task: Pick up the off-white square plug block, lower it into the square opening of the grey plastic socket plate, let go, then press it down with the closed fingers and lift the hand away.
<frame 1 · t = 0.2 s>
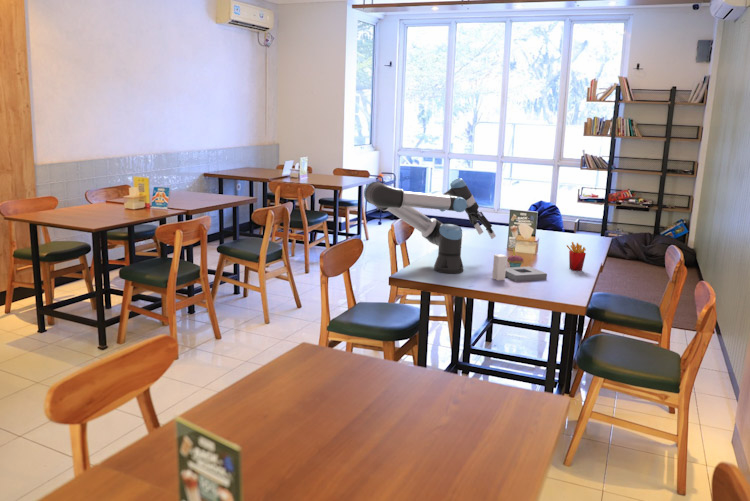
hand: (487, 235, 352), 15 cm above the table, tool tilted 35°, fingers open, 13 cm apart
french fries: (574, 270, 345), on the table
plug: (498, 279, 319), on the table
socket: (522, 276, 326), on the table
cupcake: (514, 268, 344), on the table
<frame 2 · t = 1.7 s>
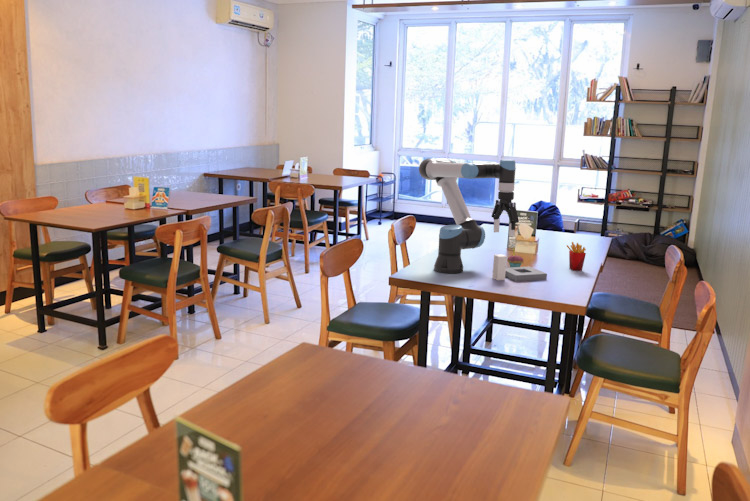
hand: (503, 234, 317), 22 cm above the table, tool pointing down, fingers open, 13 cm apart
nothing on the table moved.
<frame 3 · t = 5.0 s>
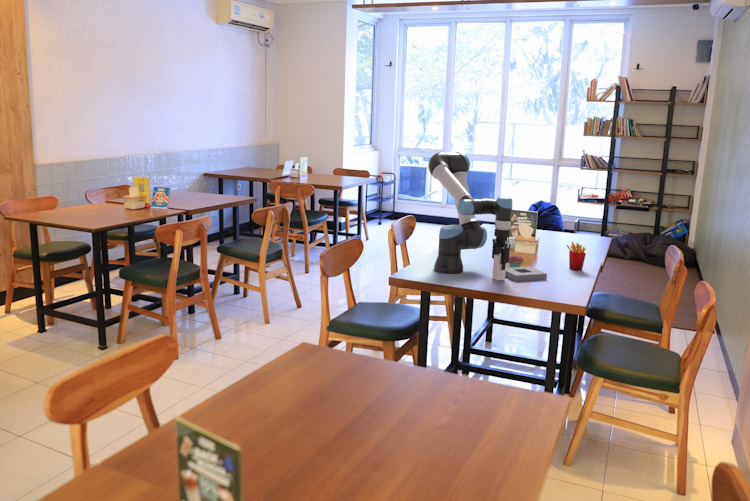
hand: (498, 274, 319), 2 cm above the table, tool pointing down, fingers closed on plug, 4 cm apart
plug: (498, 278, 319), on the table, touching gripper
everything else where it was.
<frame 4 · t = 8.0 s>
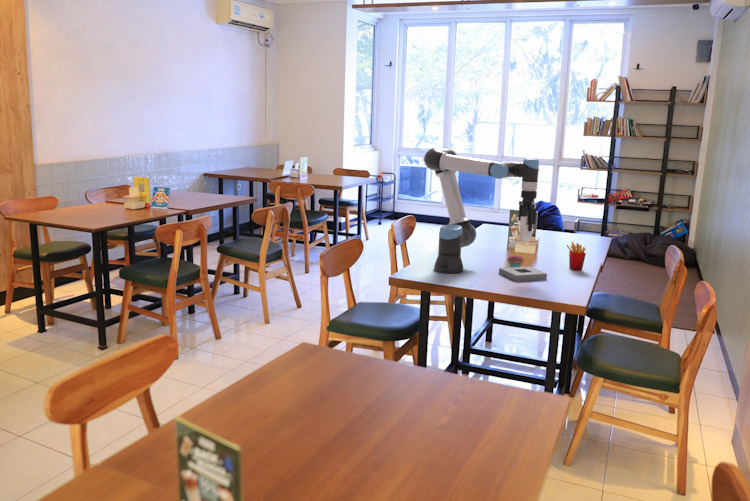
hand: (525, 236, 321), 21 cm above the table, tool pointing down, fingers closed on plug, 4 cm apart
plug: (525, 240, 322), point 19 cm above the table, touching gripper
everything else where it was.
when the fingers open (4 cm above the table, at t = 11.4 s): plug drops 2 cm, resting in socket.
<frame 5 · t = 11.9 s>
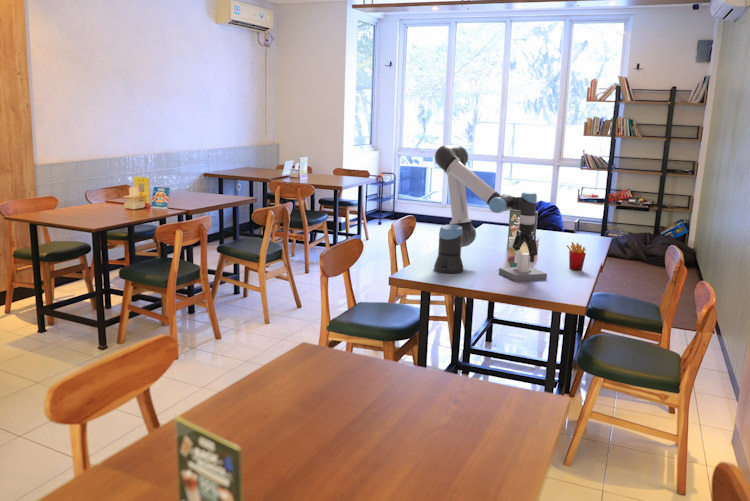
hand: (523, 265, 325), 6 cm above the table, tool pointing down, fingers open, 12 cm apart
plug: (522, 276, 326), resting in socket
everything else where it was.
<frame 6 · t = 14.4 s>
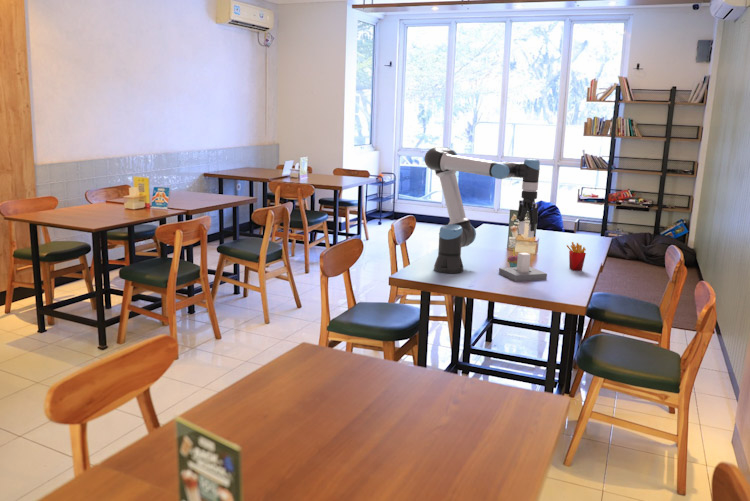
hand: (525, 235, 322), 21 cm above the table, tool pointing down, fingers open, 8 cm apart
nothing on the table moved.
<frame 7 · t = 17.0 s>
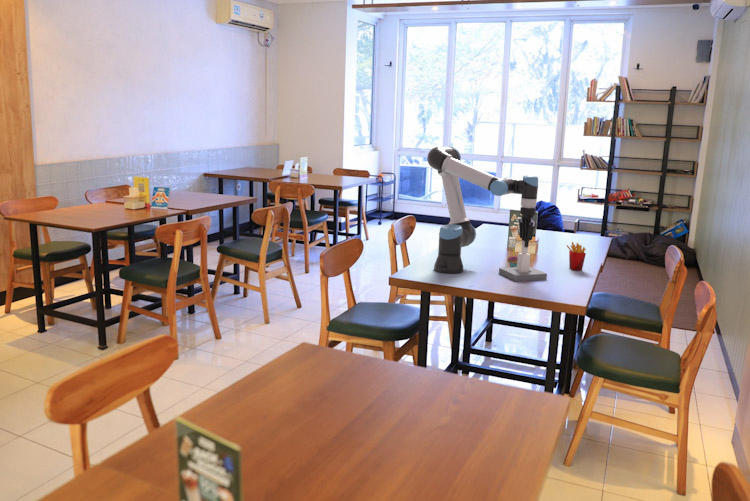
hand: (524, 253, 323), 12 cm above the table, tool pointing down, fingers closed
plug: (522, 276, 326), resting in socket, touching gripper
everything else where it was.
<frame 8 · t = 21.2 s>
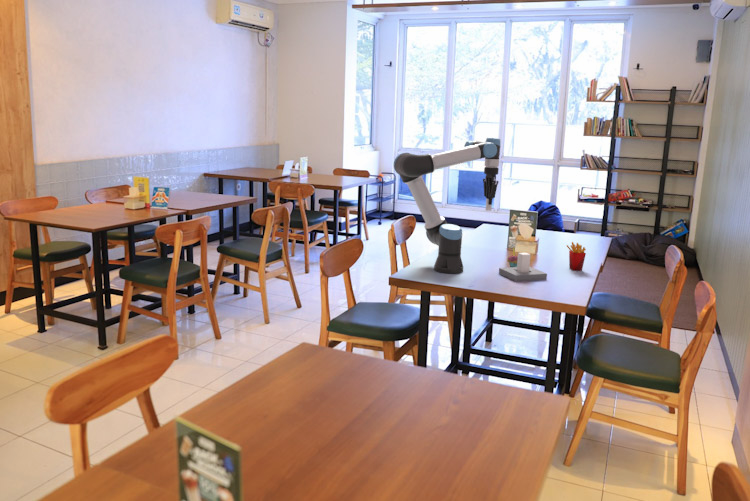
hand: (488, 210, 348), 29 cm above the table, tool pointing down, fingers closed
plug: (522, 276, 326), resting in socket
everything else where it was.
at the end: plug 0.0 cm off-centre on the socket, point 0.0 cm above the socket's base; plug tilted 0°; the gripper is holding nothing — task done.
